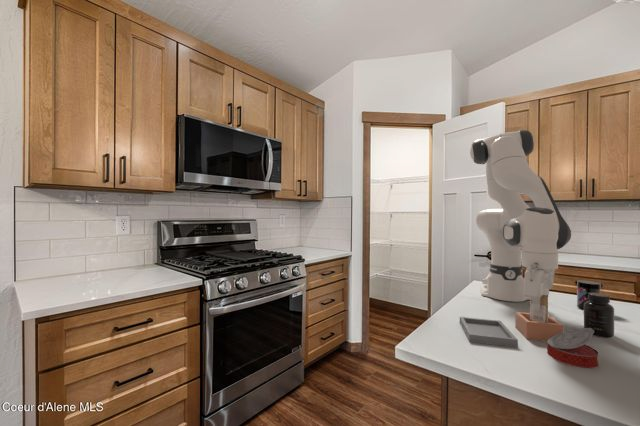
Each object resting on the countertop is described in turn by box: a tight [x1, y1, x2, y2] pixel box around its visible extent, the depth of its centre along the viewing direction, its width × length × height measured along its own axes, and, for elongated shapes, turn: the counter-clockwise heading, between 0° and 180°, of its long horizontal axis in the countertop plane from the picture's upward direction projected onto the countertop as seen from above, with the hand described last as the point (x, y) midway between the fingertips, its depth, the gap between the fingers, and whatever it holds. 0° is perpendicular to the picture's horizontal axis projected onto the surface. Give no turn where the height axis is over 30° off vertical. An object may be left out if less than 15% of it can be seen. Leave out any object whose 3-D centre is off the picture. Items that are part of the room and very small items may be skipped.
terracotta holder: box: [514, 311, 564, 342], centre depth 89 cm, size 9×9×5 cm
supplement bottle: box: [583, 292, 615, 339], centre depth 90 cm, size 7×7×12 cm
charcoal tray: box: [459, 316, 519, 348], centre depth 89 cm, size 15×12×2 cm
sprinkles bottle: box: [529, 288, 550, 323], centre depth 89 cm, size 5×5×13 cm
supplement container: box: [576, 279, 602, 311], centre depth 114 cm, size 7×7×10 cm
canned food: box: [546, 327, 599, 369], centre depth 74 cm, size 11×10×10 cm
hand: (538, 307), depth 89 cm, fingers closed on sprinkles bottle, 4 cm apart
